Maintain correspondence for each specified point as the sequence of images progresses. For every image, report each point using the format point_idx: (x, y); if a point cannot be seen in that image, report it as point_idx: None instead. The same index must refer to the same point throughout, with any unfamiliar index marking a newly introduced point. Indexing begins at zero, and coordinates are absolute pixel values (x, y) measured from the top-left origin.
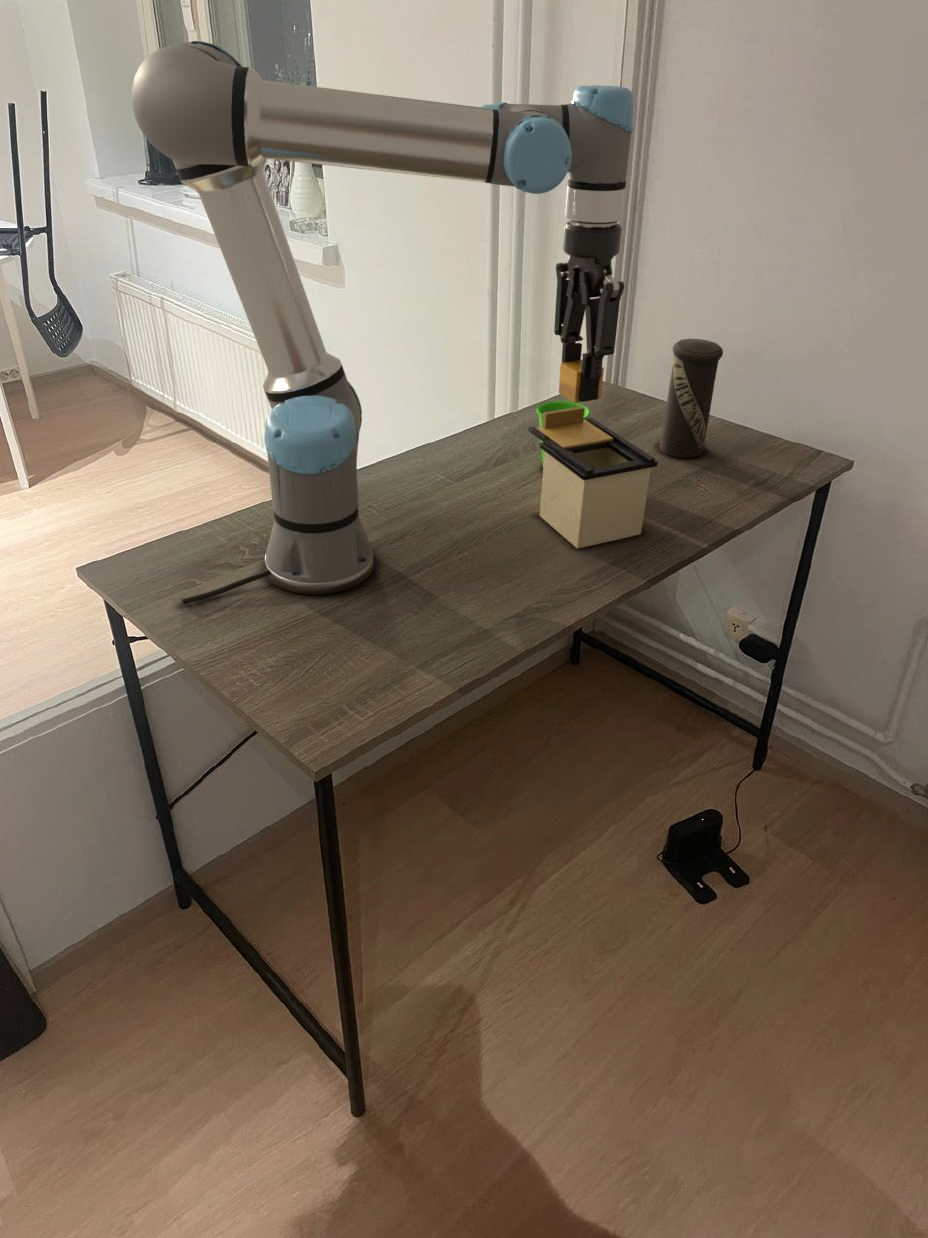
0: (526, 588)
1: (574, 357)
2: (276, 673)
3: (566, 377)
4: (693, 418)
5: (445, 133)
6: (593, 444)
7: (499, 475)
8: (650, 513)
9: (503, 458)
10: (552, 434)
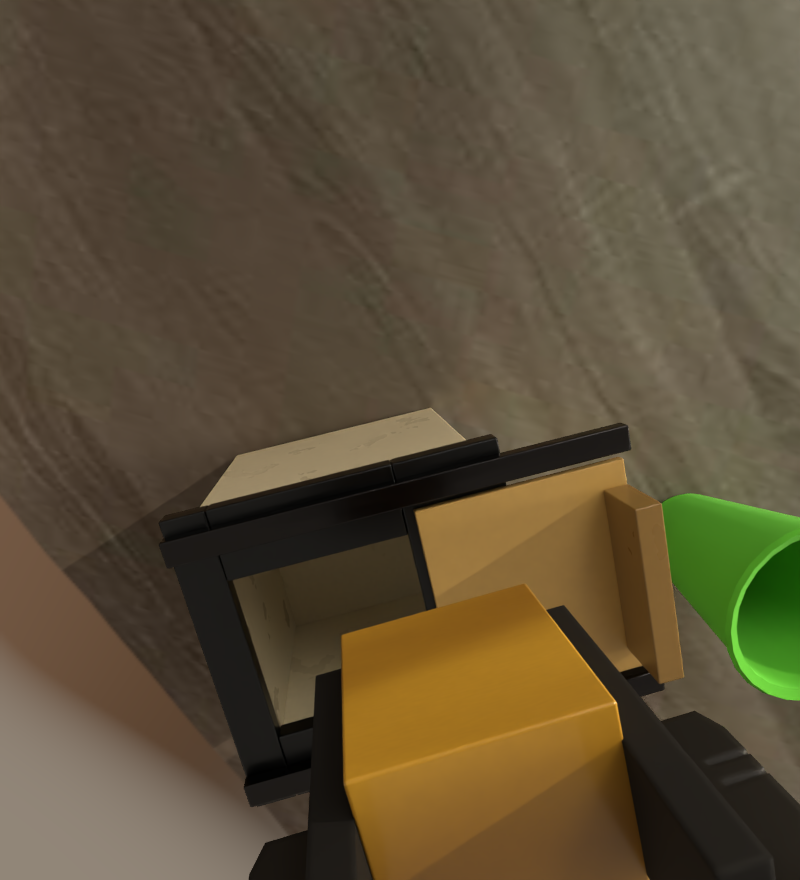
0: (36, 259)
1: (652, 846)
2: None
3: (482, 676)
4: None
5: None
6: None
7: (689, 362)
8: None
9: (787, 401)
10: (542, 503)
